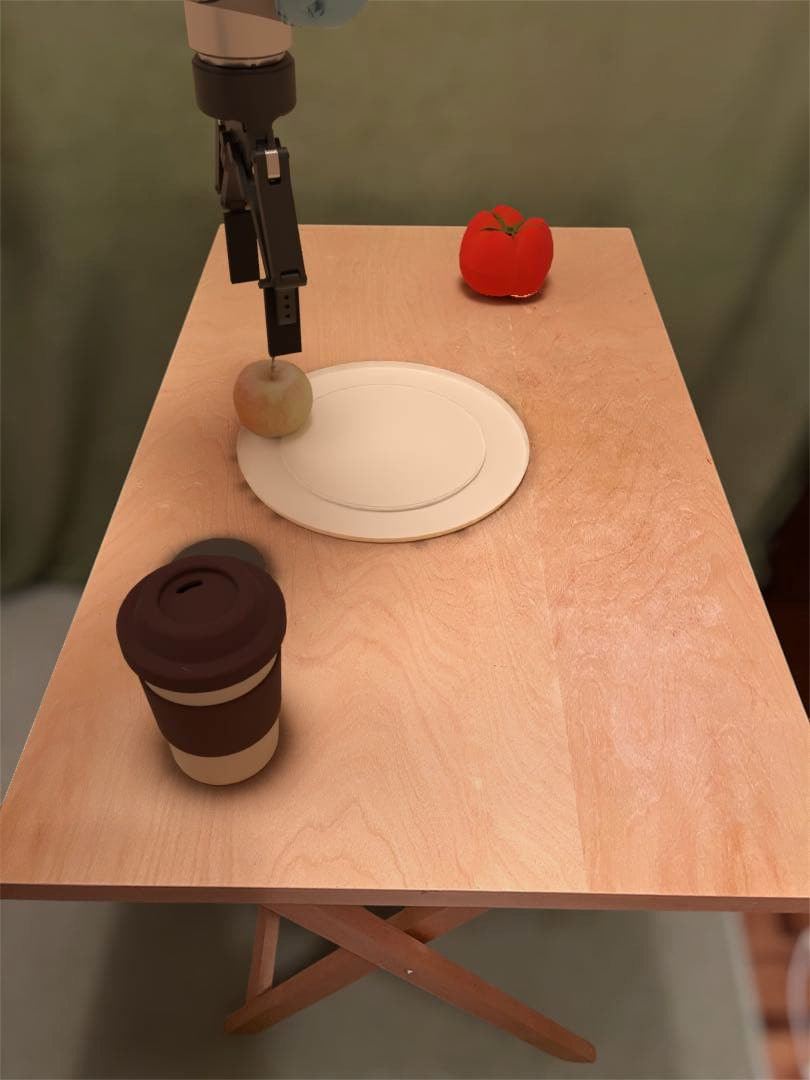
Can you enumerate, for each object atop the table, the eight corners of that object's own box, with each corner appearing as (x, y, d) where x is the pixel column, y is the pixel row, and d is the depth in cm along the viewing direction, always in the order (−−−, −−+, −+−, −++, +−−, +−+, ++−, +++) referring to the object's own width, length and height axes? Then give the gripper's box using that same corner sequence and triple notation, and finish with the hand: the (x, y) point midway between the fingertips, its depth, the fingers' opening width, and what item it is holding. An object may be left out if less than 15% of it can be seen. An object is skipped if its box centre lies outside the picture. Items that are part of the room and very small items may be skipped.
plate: (569, 412, 93) (570, 406, 92) (453, 586, 75) (454, 580, 74) (332, 341, 102) (332, 336, 101) (176, 481, 84) (175, 475, 83)
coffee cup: (292, 806, 60) (274, 660, 50) (140, 805, 60) (91, 658, 49) (303, 685, 67) (290, 536, 57) (167, 684, 67) (130, 534, 57)
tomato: (438, 284, 113) (442, 213, 106) (511, 259, 118) (518, 190, 112) (494, 320, 106) (502, 247, 100) (569, 292, 112) (580, 221, 106)
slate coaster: (178, 624, 71) (176, 617, 71) (159, 557, 77) (158, 550, 76) (277, 598, 73) (277, 591, 73) (252, 535, 79) (252, 528, 78)
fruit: (270, 397, 93) (263, 328, 88) (327, 422, 91) (324, 352, 85) (220, 434, 89) (210, 363, 83) (279, 461, 86) (272, 389, 80)
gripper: (346, 100, 59) (349, 379, 74) (250, 7, 76) (268, 249, 91) (232, 110, 57) (258, 396, 71) (160, 13, 74) (193, 260, 88)
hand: (264, 315), depth 81 cm, fingers open, 13 cm apart
